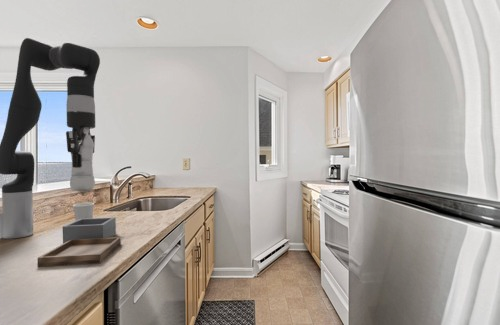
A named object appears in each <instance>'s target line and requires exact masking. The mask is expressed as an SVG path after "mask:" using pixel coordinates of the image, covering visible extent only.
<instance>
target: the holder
mask: <svg viewBox="0 0 500 325" xmlns="http://www.w3.org/2000/svg"><path fill="white" fill-rule="evenodd" d="M116 218H117V217H94V218H93V217H92V218H90V219H79V220H75V221H72V222H70V223H67V224H65V225H62V244H63V243H65V242H67V241H69V240H75V239H95V238H114V236H115V235H117V229H116V228H117V225H116V224H117V223H116V222H117V221H116V220H117V219H116Z"/></svg>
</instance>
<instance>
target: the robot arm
mask: <svg viewBox="0 0 500 325" xmlns="http://www.w3.org/2000/svg"><path fill="white" fill-rule="evenodd" d="M100 64H101V59H100V56H99V54H98V52H97V51H96V50H94V49H92V48H89V47H86V46H82V45H79V44H75V43H72V42H64V43H63V44H62V45H56V46H52V45H50V44H47V43H44V42H42V41H39V40H35V39H32V38H29V37H25V38H24V39H23V40H22V42H21V45H20V48H19V53H18V61H17V69H16V75H15V76H16V77H15V81H14V87H13V89H12V95H11V98H10V101H9V102H10V103H9V108H8V112H7V117H6V118H7V119H6V122H5V127H4V132H3V135H2V139H1V141H0V175H6V176H7V175H9V176H10V175H16V178H15V179H13V180H11V181H9V182H8V183H5V184H3V185H2V186H1V200H2V201H1V203H2V206H1V207H2V208H1V209H2V211H1V212H0V239H5V240H7V239H18V238H19V239H21V238H25V237H28V236H29V237H30V236H32V235H33V234H34V203H33V202H34V200H33V197H34V196H33V187H34V183H35V182H34V181H35V157H34V155H33V153H32V152H31V151H28V150H17V148H18V145H19V143H20V141H21V140H22V139H23V138H24V137H25V136H26V135H27V134H28V133H30V131H32V129H34V127H35V126H36V125H38V124H37V123H38V122H39V120H40V116H41V112H42V101H41V98H40V95H39V94H38V92H37V90H36V88H35V85H34V83H33V81H32V76H31V72H32V71H31V69H32V67H34V68H37V69H40V70H44V71H56V70H59V69H68V70H69V69H70V70H73V69H75V70H78V71H83V75H74V76H73V75H72V76H69V77H68V78H67V81H66V91H67V94H66V95H67V96H66V127H67V128H70V129H71V130H70V131H69V130H68V131H66V132H65V136H66V147H67V149H66V150H67V153H70V155H71V154H72V158H71V167H72V166H73V167H74V168H78V167H81V166H82V160H81V155H80V154H81V152H82V148H84V140H85V139H86V138H87V134H84V132H83V130H84V128H89V133H88V135H89V136H90V138H91V139H92V140H93V143H94V147H93V148H94V149H93V154H94V153H95V141H96V136H95V134H91V131H90V130H91V129H95V128H96V103H95V81H96V77H97V75H98V74H97V73H98V71H99V67H100ZM82 137H83V138H82ZM78 140H79V141H81V140H82V142H81V144H78ZM71 147H72V148H71ZM78 147H79V149H78Z"/></svg>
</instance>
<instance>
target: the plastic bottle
mask: <svg viewBox="0 0 500 325" xmlns="http://www.w3.org/2000/svg"><path fill="white" fill-rule="evenodd" d="M83 132H84V134H87V138H86V139H85V140H84V148H82V152H81V154H80V155H81V160H82V166H81V167H78V168H74V167H73V166H72V165H71V177H70V179H69V186H70V189H71V190H72V191H73V192H78V193H85V192H89V191H93V190H94V188H95V184H96V181H95V177H94V169H93V157H94V156H93V155H94V153H93V149H94V150H95V146H94V143H93V140H92V139H91V138H90V136H89V135H88V133H89V128H84V130H83ZM82 138H83V137H82ZM81 142H82V140H81V141H79V140H78V144H81ZM93 147H94V148H93ZM71 148H72V147H71ZM78 149H79V147H78ZM70 155H71V158H70V159H72V154H71V153H70Z"/></svg>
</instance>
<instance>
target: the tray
mask: <svg viewBox="0 0 500 325" xmlns="http://www.w3.org/2000/svg"><path fill="white" fill-rule="evenodd" d="M121 238H122V237H119V236H118V237H116V236H115V237H111V238H95V239H75V240H69V241H67V242H65V243H63V242H62V244H60V245H58V246H56V247H55V248H53V249H50V250H49V251H47V252H45V253H43V254H42V255H40V256H38V257H37V267H38V268H40V267H41V268H45V267H46V268H47V267H60V266H63V267H64V266H79V265H80V266H81V265H94V264H95V265H96V264H101V263H102V262H104V261H105V260H106V259H107V258H108V257H109V256H110V255H111V254H112V253H113V252H114V251H116V250H117V249H118V248H119V247H120V246H121V245H122V239H121Z"/></svg>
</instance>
